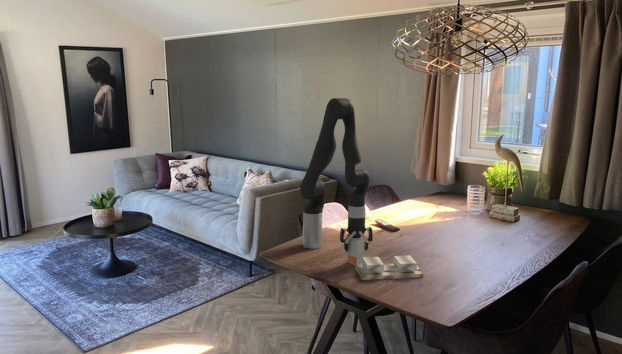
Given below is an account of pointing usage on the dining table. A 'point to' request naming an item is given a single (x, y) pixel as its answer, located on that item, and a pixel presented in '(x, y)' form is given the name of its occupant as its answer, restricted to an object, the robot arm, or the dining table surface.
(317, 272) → the dining table surface
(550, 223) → the dining table surface
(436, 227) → the dining table surface
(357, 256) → the skincare box
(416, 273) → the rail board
